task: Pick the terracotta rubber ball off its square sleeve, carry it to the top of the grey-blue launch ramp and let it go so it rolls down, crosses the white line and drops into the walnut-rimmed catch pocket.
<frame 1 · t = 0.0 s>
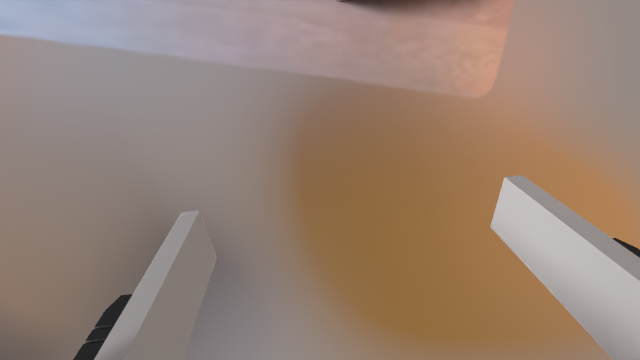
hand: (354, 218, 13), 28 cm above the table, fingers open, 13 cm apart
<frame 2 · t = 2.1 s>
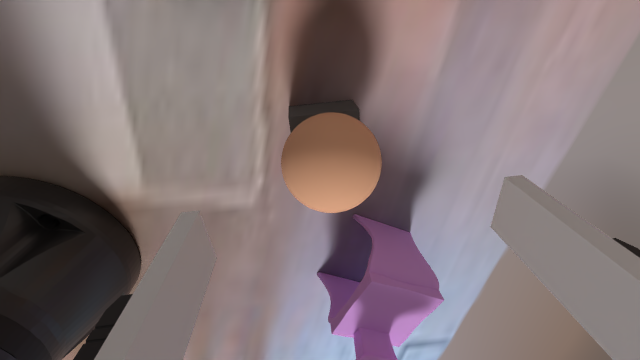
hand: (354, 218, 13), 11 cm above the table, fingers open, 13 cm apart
ball: (326, 143, 20), point 2 cm above the table, touching square sleeve
square sleeve: (323, 133, 22), on the table
toy chair: (362, 250, 28), on the table
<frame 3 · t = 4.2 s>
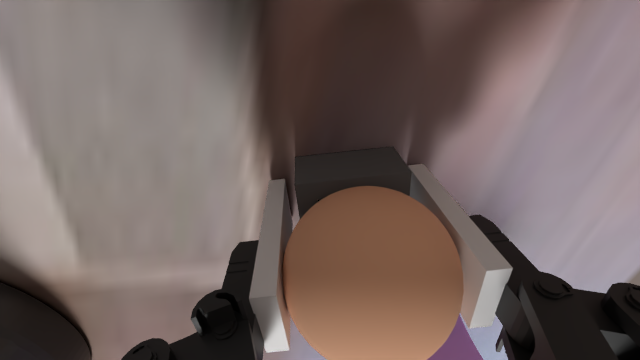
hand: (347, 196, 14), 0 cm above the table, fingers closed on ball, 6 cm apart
ball: (353, 218, 13), point 2 cm above the table, touching gripper, square sleeve
square sleeve: (346, 193, 14), on the table
toy chair: (391, 331, 21), on the table
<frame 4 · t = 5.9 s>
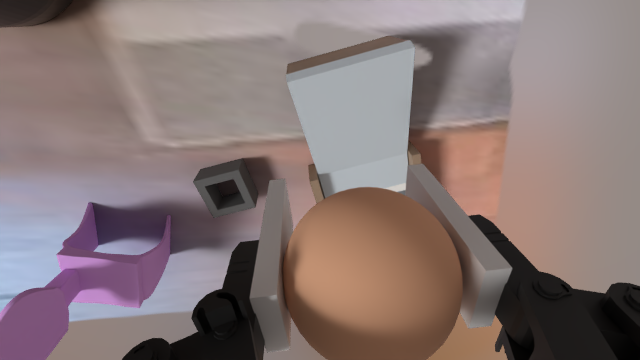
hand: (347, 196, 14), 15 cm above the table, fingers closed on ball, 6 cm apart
ball: (352, 219, 13), point 17 cm above the table, touching gripper
square sleeve: (230, 182, 30), on the table
ramp with walled tray: (360, 165, 31), on the table
toy chair: (135, 229, 33), on the table
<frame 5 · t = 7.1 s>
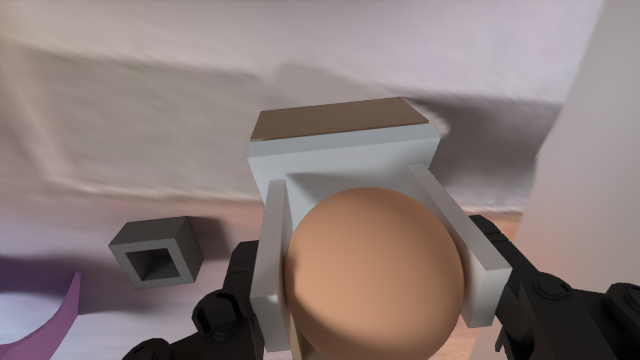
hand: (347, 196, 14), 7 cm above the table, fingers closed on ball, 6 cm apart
ball: (353, 219, 13), point 8 cm above the table, touching gripper
square sleeve: (167, 241, 23), on the table
ramp with walled tray: (339, 240, 24), on the table
toy chair: (30, 282, 24), on the table
when the fingers open (6 cm above the table, at t = 7.7 s): ball drops 7 cm and tips over, resting on ramp with walled tray.
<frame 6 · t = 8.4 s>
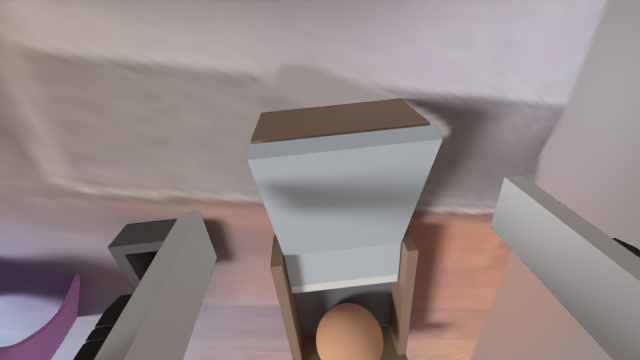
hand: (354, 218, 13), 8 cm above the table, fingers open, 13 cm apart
ball: (344, 303, 27), point 1 cm above the table, tilted 32°, touching ramp with walled tray
square sleeve: (167, 243, 23), on the table
ramp with walled tray: (339, 242, 24), on the table
toy chair: (29, 284, 24), on the table
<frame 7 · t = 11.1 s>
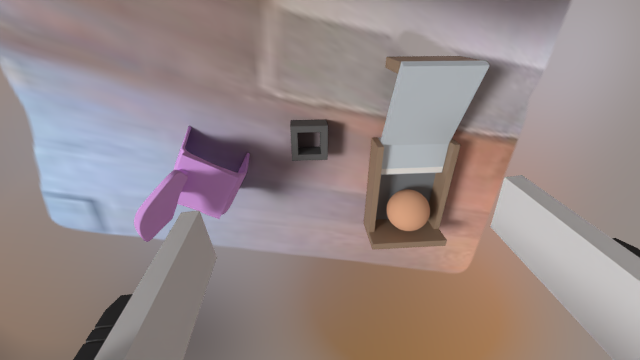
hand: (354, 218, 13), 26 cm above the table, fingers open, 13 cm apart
ball: (403, 192, 42), point 1 cm above the table, tilted 29°, touching ramp with walled tray
square sleeve: (308, 136, 38), on the table
ramp with walled tray: (408, 147, 40), on the table
toy chair: (214, 159, 39), on the table
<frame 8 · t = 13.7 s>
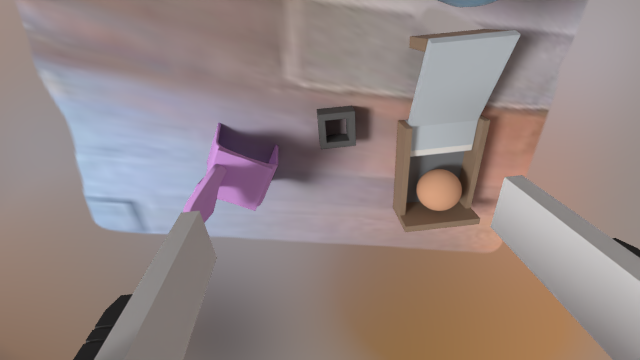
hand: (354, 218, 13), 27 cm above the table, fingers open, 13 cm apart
ball: (431, 173, 42), point 1 cm above the table, tilted 25°, touching ramp with walled tray
square sleeve: (335, 124, 38), on the table
ramp with walled tray: (435, 127, 39), on the table
toy chair: (244, 153, 40), on the table
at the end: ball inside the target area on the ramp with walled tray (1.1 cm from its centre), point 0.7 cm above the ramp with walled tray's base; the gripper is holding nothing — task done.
